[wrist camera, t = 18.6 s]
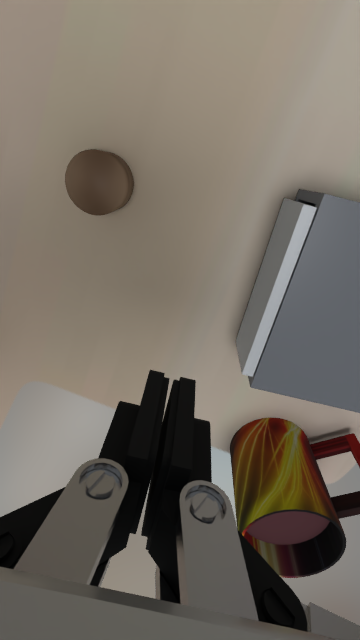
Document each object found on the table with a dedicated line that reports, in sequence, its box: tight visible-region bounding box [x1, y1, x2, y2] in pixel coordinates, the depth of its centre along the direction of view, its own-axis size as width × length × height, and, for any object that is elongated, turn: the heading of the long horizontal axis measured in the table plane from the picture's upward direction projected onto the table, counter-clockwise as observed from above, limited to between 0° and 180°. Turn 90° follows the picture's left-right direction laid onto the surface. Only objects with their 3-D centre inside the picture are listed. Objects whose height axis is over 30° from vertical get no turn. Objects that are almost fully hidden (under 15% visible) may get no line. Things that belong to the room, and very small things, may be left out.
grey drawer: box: [236, 198, 317, 377], centre depth 30 cm, size 13×15×6 cm
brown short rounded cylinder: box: [65, 149, 134, 215], centre depth 29 cm, size 5×5×4 cm
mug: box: [230, 418, 360, 578], centre depth 36 cm, size 10×14×12 cm
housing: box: [248, 189, 360, 413], centre depth 31 cm, size 14×17×7 cm
